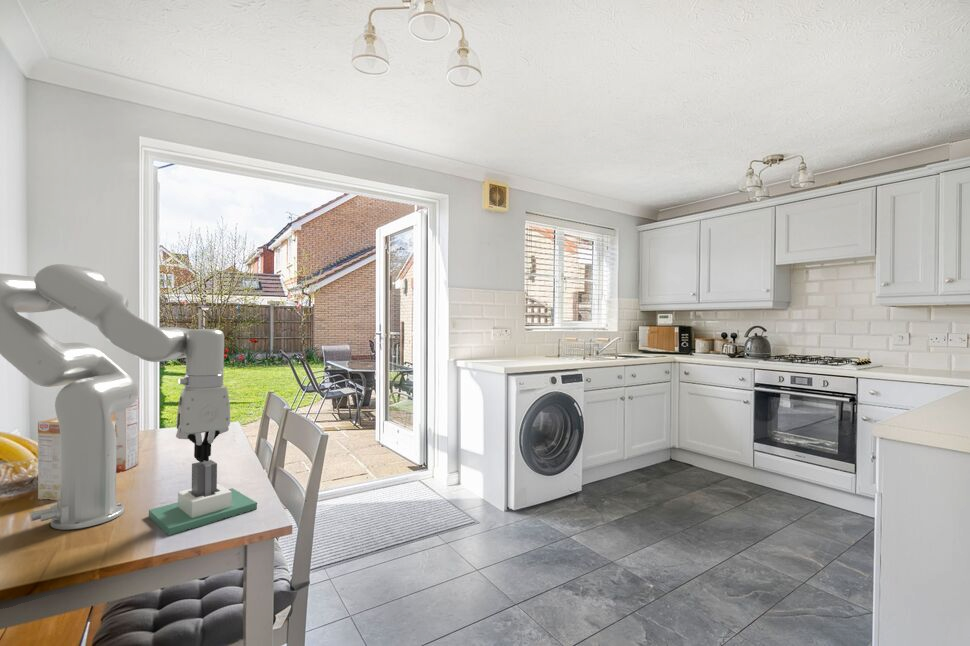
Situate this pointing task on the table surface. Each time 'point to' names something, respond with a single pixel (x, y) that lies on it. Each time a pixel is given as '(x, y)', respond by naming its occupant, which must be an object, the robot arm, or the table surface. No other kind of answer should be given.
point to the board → (179, 521)
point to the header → (204, 501)
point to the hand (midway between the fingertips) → (202, 460)
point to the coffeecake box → (50, 459)
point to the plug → (204, 478)
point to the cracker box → (127, 437)
